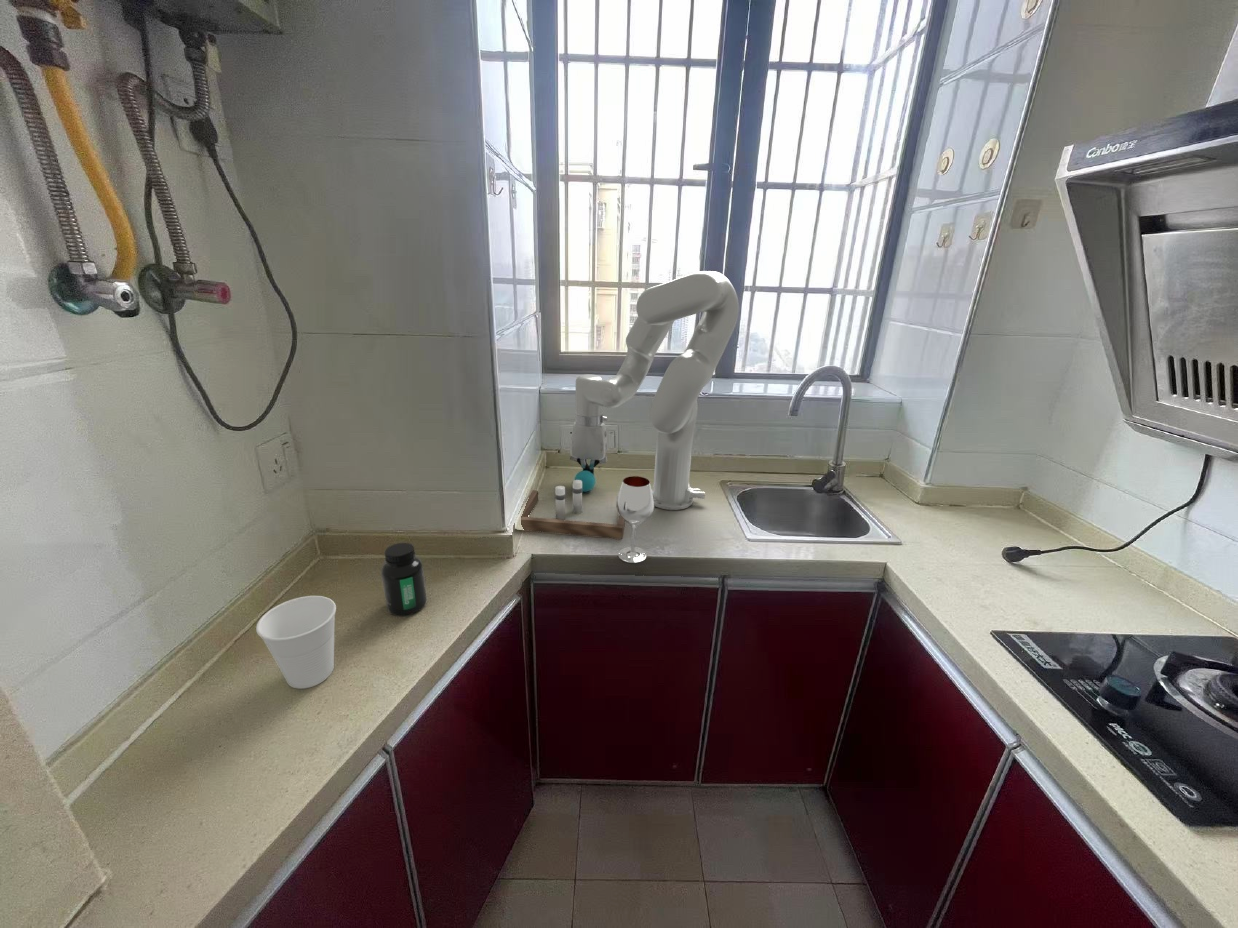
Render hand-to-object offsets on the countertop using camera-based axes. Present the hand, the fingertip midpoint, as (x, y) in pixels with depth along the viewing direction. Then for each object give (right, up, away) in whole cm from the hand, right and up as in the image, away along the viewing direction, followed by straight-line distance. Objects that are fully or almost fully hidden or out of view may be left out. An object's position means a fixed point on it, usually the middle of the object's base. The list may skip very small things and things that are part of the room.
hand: (588, 479), depth 146 cm
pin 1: (-6, -9, -20) cm, 23 cm away
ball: (-1, 0, -5) cm, 5 cm away
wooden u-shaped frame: (-2, -9, -19) cm, 21 cm away
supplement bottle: (-30, -22, -54) cm, 65 cm away
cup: (-38, -28, -70) cm, 84 cm away
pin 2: (-2, -8, -16) cm, 18 cm away
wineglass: (+12, -16, -35) cm, 40 cm away
